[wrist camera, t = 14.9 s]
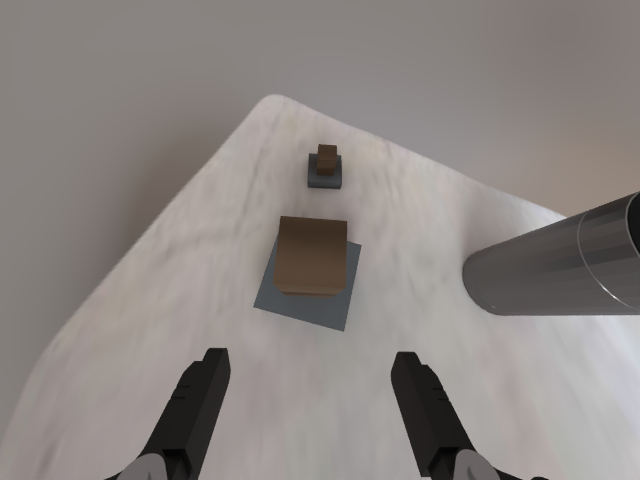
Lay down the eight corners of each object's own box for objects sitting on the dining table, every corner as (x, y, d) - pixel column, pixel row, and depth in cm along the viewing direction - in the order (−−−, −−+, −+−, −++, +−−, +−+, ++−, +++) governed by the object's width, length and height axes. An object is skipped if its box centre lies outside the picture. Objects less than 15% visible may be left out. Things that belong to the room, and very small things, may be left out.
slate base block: (336, 329, 29) (343, 331, 24) (261, 308, 29) (253, 307, 24) (352, 255, 32) (361, 245, 27) (284, 237, 32) (281, 223, 27)
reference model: (340, 188, 35) (346, 169, 30) (307, 187, 35) (308, 166, 30) (339, 161, 37) (345, 138, 32) (308, 159, 36) (309, 136, 32)
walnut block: (330, 298, 25) (345, 288, 16) (284, 295, 25) (272, 283, 15) (331, 254, 27) (347, 221, 17) (289, 251, 26) (280, 216, 17)
